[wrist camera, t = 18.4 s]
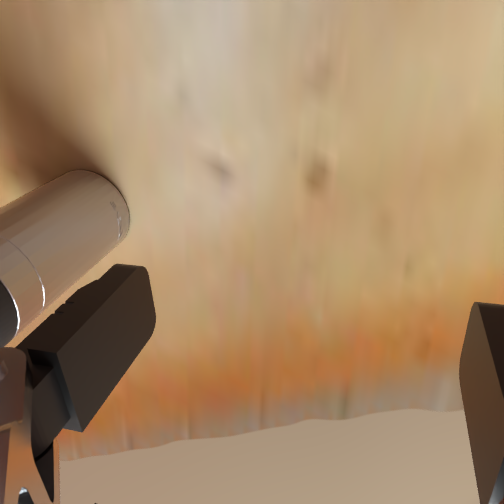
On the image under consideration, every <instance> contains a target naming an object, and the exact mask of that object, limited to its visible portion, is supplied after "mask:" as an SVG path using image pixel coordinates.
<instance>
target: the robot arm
mask: <svg viewBox="0 0 504 504" xmlns="http://www.w3.org/2000/svg"><path fill="white" fill-rule="evenodd" d="M129 223H130V219H129V212H128V208H127V205H126V203H125V201H124V199H123V197H122V195H121V194H120V193H119V191H118V190H117V189H116V188H115V187H114V186H113V185H112V184H111V183H110V182H109V181H108V180H106V179H105V178H104V177H102V176H100V175H98V174H96V173H94V172H90V171H86V170H74V171H70V172H68V173H66V174H64V175H62V176H60V177H58V178H56V179H54V180H53V181H51V182H48V183H46V184H44V185H42V186H40V187H38V188H37V189H35V190H33V191H31V192H29V193H27V194H25V195H23V196H22V197H20V198H18V199H16V200H14V201H12V202H10V203H8V204H7V205H5V206H3V207H1V208H0V504H60V474H59V445H58V441H57V439H56V436H57V435H58V434H59V432H60V431H61V430H62V428H64V429H69V430H74V431H78V432H83V431H84V429H85V428H86V427H87V425H88V424H89V422H90V421H91V420H92V418H93V417H94V415H95V414H96V413H97V411H98V410H99V409H100V407H101V406H102V404H103V403H104V402H105V400H106V399H107V397H108V396H109V395H110V393H111V392H112V390H113V389H114V388H115V386H116V385H117V383H118V382H119V381H120V379H121V378H122V376H123V375H124V374H125V372H126V371H127V369H128V368H129V367H130V365H131V364H132V363H133V361H134V360H135V358H136V357H137V356H138V354H139V353H140V351H141V350H142V349H143V347H144V346H145V344H146V343H147V342H148V340H149V339H150V337H151V336H152V334H153V331H154V328H155V323H156V313H155V308H154V302H153V297H152V291H151V286H150V280H149V275H148V272H147V270H146V268H145V267H143V266H135V265H125V264H115V265H113V266H112V267H111V268H110V269H109V270H108V271H107V272H106V273H105V274H104V275H103V276H102V277H101V278H100V279H99V280H95V281H93V282H91V283H89V284H87V285H86V286H84V287H82V288H80V289H78V290H77V291H76V292H75V293H74V294H73V295H72V296H71V297H70V298H68V299H67V300H66V301H65V304H62V305H61V306H60V307H59V308H58V309H57V310H55V313H54V314H51V315H50V316H49V317H48V318H47V319H46V320H45V321H44V322H42V323H41V324H40V325H39V326H38V327H37V328H36V329H35V330H34V331H33V332H32V333H31V334H29V335H28V336H27V337H26V338H25V339H24V340H23V341H22V342H21V343H20V344H19V345H18V346H16V347H15V348H12V347H4V346H5V345H6V344H8V343H9V342H10V341H11V340H12V339H13V338H14V337H15V336H16V335H17V334H19V333H20V332H21V331H22V330H23V329H24V328H25V327H26V326H28V325H29V324H30V323H31V322H32V321H33V320H34V319H35V318H36V317H37V316H39V315H40V314H41V313H42V312H43V311H44V310H45V309H46V308H47V307H49V306H50V305H51V304H52V303H53V302H54V301H55V300H56V299H58V298H59V297H60V296H61V295H62V294H63V293H64V292H65V291H67V290H68V289H69V288H70V287H71V286H72V285H73V284H74V283H75V282H77V281H78V280H79V279H80V278H81V277H82V276H83V275H84V274H86V273H87V272H88V271H89V270H90V269H91V268H92V267H93V266H95V265H96V264H97V263H98V262H99V261H100V260H101V259H102V258H104V257H105V256H106V255H107V254H108V253H109V252H110V251H111V250H113V249H114V248H115V247H116V246H117V245H118V244H119V243H120V242H121V241H122V240H123V239H124V238H125V236H126V235H127V232H128V230H129ZM459 379H460V387H461V393H462V399H463V405H464V411H465V416H466V422H467V428H468V434H469V440H470V446H471V452H472V458H473V464H474V470H475V476H476V481H477V487H478V493H479V499H480V504H504V305H501V304H491V303H481V302H474V304H473V306H472V308H471V312H470V317H469V321H468V326H467V330H466V335H465V339H464V344H463V348H462V353H461V358H460V368H459ZM95 504H96V503H95Z"/></svg>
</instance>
